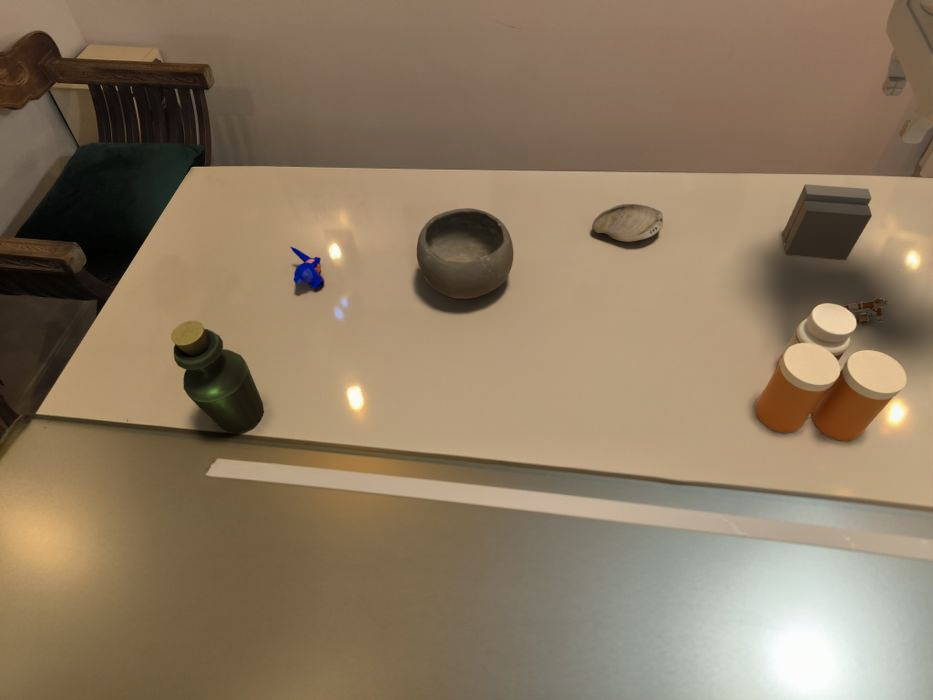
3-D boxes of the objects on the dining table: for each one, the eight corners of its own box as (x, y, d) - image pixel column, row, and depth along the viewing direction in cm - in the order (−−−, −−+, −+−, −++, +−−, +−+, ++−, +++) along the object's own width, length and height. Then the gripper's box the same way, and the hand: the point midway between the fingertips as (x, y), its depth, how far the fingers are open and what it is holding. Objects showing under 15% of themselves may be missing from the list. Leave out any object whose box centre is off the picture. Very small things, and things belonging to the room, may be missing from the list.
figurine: (299, 297, 99) (290, 276, 95) (297, 266, 103) (289, 244, 100) (328, 291, 99) (320, 270, 95) (325, 261, 104) (317, 239, 100)
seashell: (597, 253, 101) (600, 230, 97) (586, 221, 106) (589, 198, 102) (668, 246, 101) (674, 223, 97) (654, 214, 106) (660, 191, 102)
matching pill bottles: (752, 390, 83) (781, 339, 74) (858, 404, 80) (900, 353, 72) (756, 429, 79) (786, 380, 70) (867, 444, 77) (912, 396, 68)
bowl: (494, 240, 104) (492, 192, 96) (526, 299, 95) (528, 252, 87) (411, 262, 102) (403, 215, 94) (436, 325, 93) (429, 279, 85)
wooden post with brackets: (890, 323, 87) (890, 302, 84) (826, 331, 91) (824, 311, 88) (888, 314, 88) (888, 293, 85) (824, 322, 92) (822, 302, 89)
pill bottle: (820, 356, 85) (856, 302, 76) (828, 392, 82) (866, 339, 73) (774, 351, 86) (804, 297, 77) (779, 387, 83) (811, 334, 74)
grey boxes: (782, 233, 101) (804, 184, 93) (840, 238, 99) (868, 188, 92) (785, 254, 98) (809, 205, 90) (845, 260, 96) (875, 210, 89)
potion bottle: (252, 446, 82) (197, 366, 68) (200, 432, 84) (137, 352, 70) (280, 397, 87) (235, 313, 72) (231, 385, 88) (177, 301, 74)
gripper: (1054, 31, 49) (956, 174, 60) (979, -63, 62) (909, 70, 72) (967, 28, 50) (886, 169, 61) (910, -63, 63) (851, 68, 73)
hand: (898, 115), depth 67 cm, fingers open, 8 cm apart
